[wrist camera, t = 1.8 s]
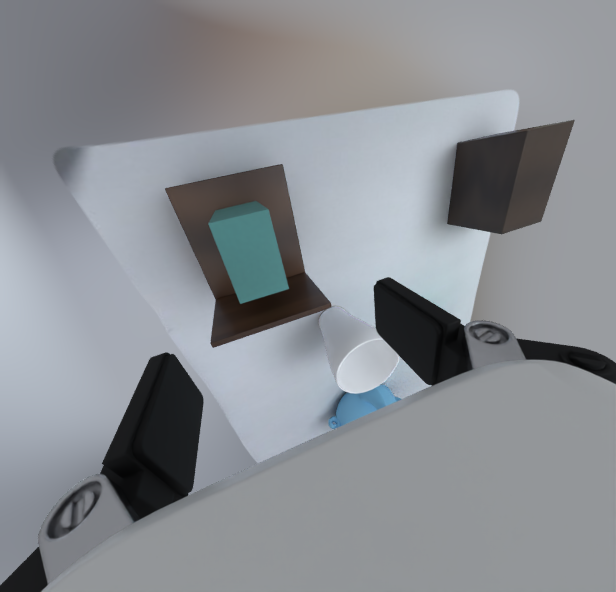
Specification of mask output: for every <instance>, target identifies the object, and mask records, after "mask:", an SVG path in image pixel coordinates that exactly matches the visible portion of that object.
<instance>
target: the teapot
mask: <svg viewBox="0 0 616 592" xmlns="http://www.w3.org/2000/svg"><path fill="white" fill-rule="evenodd" d="M399 400H401V399H400V398H398V397H394V395H393V394H392V392H391V391H390V389H389V388H388V387H386V386H384V385H382V384H380V385H379V386H377V387H376V388H374V389H372V390H369V391H367V392H364V393H357V394H355V393H348V392H347V393H346V394H345V395H344V396H343V397H342V399H341V400H340V402H339V405H338V408H337V412H336V417H335V416H333V417H331V418H330V419H329V422H328V423H329V426H330V428H332V429H335V428H338V427H340V426H343V425H345V424H347V423H349V422H351V421H354V420H356V419H358V418H360V417H363V416H365V415H367V414H369V413H372V412H374V411H376V410H379V409H381V408H383V407H385V406H388V405H390V404H392V403H394V402H397V401H399ZM333 422H335V423H336V424H335V425H334V424H332V423H333Z"/></svg>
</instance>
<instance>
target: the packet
mask: <svg viewBox="0 0 616 592" xmlns="http://www.w3.org/2000/svg"><path fill="white" fill-rule="evenodd" d="M208 225H209V227H210V230H211V232H212V235H213V237H214V240H215V242H216V245H217V247H218V250H219V252H220V255H221V257H222V260H223V262H224V265H225V267H226V270H227V272H228V275H229V277H230V280H231V282H232V285H233V287H234V290H235V292H236V295H237V297H238V300H239V302H240V304H242V303H245V302H248V301H252V300H255V299H258V298H261V297H264V296H268V295H271V294H274V293H277V292H280V291H284V290H287V289H289V287H288V283H287V279H286V275H285V271H284V267H283V264H282V260H281V256H280V252H279V248H278V244H277V240H276V237H275V233H274V229H273V225H272V221H271V217H270V213H269V210H268V209H267V208H266V207H264V206H263V205H261V204H260V203H258V202H257V201H253V202H249V203H245V204H241V205H236V206H232V207H228V208H224V209H219V210H215V212H214V214H213V216H212V218H211V220H210V221H209V223H208Z"/></svg>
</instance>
